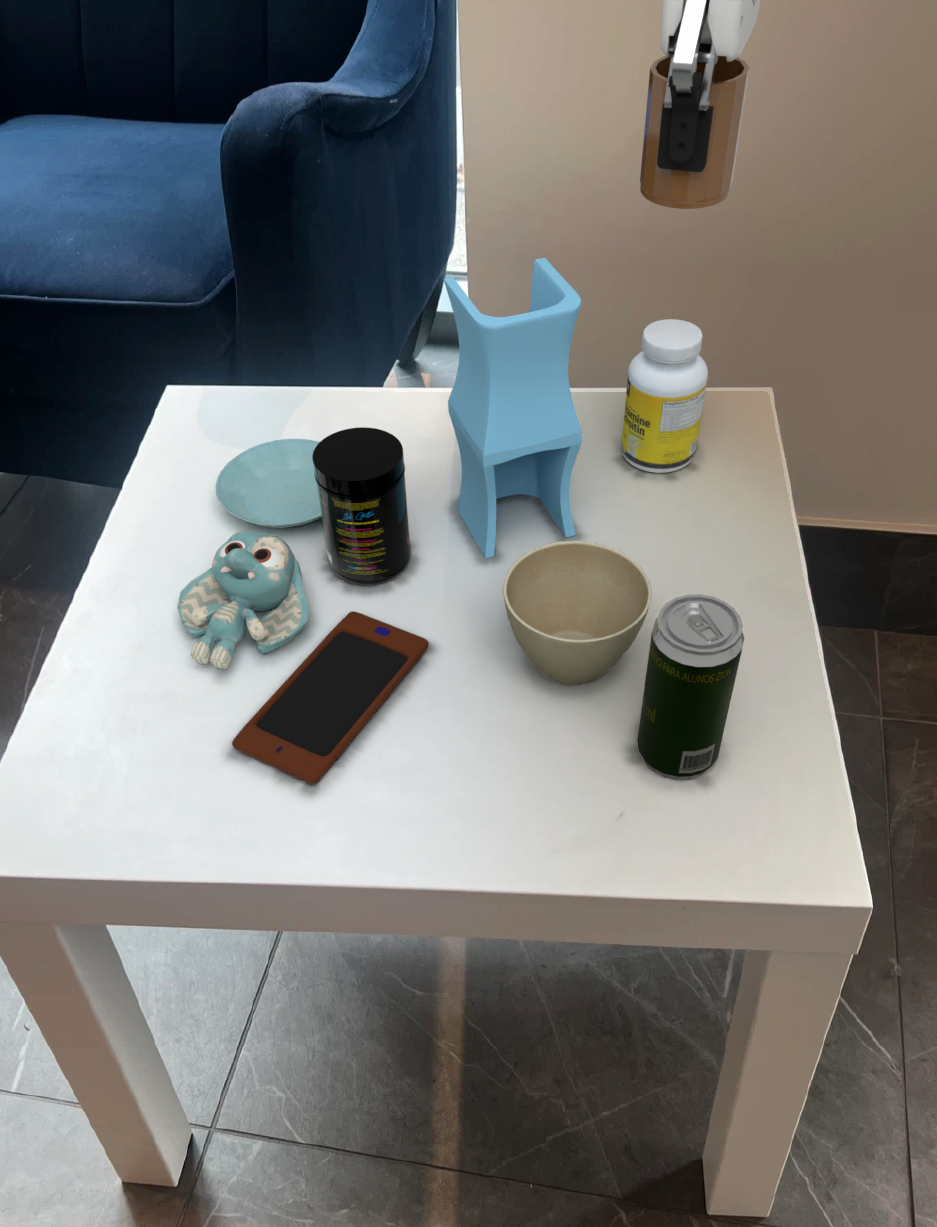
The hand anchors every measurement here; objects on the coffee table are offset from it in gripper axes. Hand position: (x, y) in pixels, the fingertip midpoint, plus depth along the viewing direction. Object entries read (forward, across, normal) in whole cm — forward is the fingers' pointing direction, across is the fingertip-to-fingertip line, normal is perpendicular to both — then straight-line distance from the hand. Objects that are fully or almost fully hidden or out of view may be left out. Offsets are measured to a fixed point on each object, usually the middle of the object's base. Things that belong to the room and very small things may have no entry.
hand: (691, 145), depth 76 cm
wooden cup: (+3, 0, 0) cm, 3 cm away
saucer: (+27, -14, +28) cm, 41 cm away
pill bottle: (+27, +1, 0) cm, 27 cm away
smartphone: (+27, -34, +16) cm, 46 cm away
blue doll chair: (+27, -11, +9) cm, 30 cm away
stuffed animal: (+27, -28, +25) cm, 46 cm away
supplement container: (+27, -19, +19) cm, 38 cm away
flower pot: (+27, -25, 0) cm, 37 cm away
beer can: (+27, -31, -8) cm, 42 cm away
